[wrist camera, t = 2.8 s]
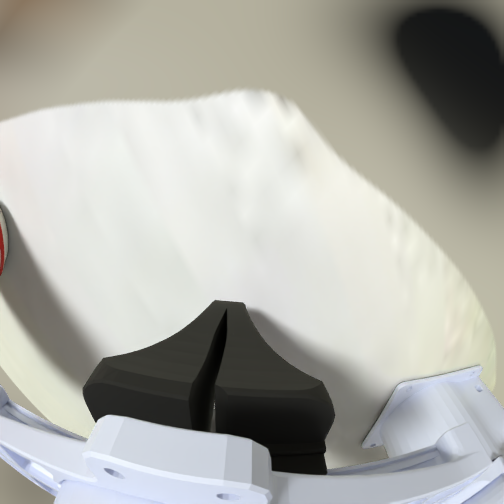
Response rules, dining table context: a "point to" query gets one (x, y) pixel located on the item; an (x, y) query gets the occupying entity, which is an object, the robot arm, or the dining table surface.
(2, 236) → the beverage can
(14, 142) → the dining table surface
